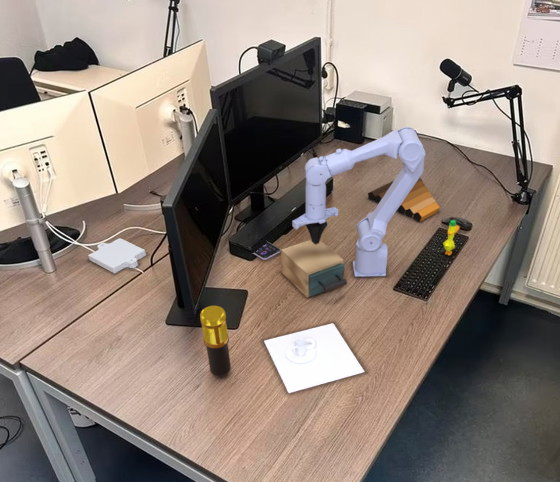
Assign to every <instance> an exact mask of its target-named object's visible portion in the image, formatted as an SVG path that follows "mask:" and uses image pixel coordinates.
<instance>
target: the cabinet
mask: <svg viewBox="0 0 560 482" xmlns="http://www.w3.org/2000/svg"><path fill="white" fill-rule="evenodd" d="M280 250H281V252H280V255H281V273H282V274H283V275H284V276H285V278H287V280H288V281H289V282H290V283H292V285H294V286H295V287H296V288H297V290H299V292H301V293H302V294H303V295H304V296H305V297H306V298H309V297H311V296H310V295H309V275H310V274H312V273H315V272H318V271H321V270H323V269H326V268H329V267H332V266H334V265H338V264H341V263H342V264H343V265H344V260H345V259H344V258H342V257H341V256H340V255H338V254H337V253H336V252H335V251H334V250H333V249H331V248H330V247H329V246H328V245H327V244H325V243H324V242H323V241H322V240H320V241H319V243H318V244H314V243H313V242H312V240H311V239H308V240H305V241H302V242H299V243H297V244H293V245H291V246H287V247H285V248H280Z"/></svg>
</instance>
